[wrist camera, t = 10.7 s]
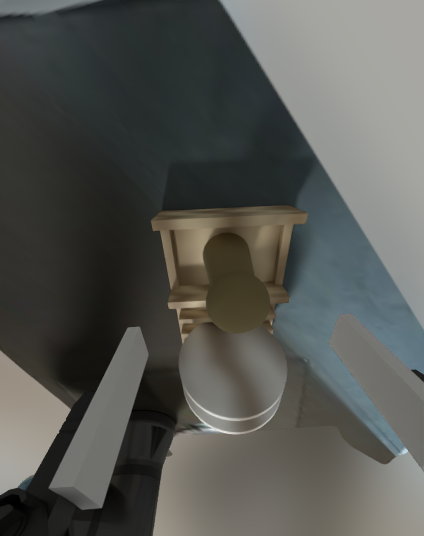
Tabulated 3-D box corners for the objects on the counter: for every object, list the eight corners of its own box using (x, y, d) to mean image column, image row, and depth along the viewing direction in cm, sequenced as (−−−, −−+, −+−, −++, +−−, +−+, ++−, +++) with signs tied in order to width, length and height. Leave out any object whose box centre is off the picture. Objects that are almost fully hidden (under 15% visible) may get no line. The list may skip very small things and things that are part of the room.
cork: (251, 271, 24) (282, 338, 14) (207, 279, 24) (209, 350, 15) (247, 227, 21) (282, 276, 11) (197, 237, 21) (190, 292, 12)
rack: (183, 338, 31) (168, 446, 19) (161, 211, 21) (97, 269, 9) (267, 334, 32) (306, 438, 19) (288, 205, 21) (405, 254, 9)
